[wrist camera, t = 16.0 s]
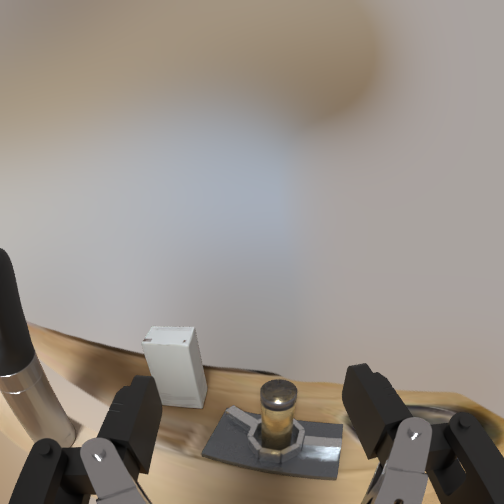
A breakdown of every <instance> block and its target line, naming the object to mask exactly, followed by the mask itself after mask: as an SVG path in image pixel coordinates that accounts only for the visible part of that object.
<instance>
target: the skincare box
mask: <svg viewBox="0 0 504 504" xmlns="http://www.w3.org/2000/svg"><path fill="white" fill-rule="evenodd" d="M142 347H143V351H144V354H145V357H146V360H147V363H148V366H149V370H150V373H151V376H153V377H154V379H155V382H156V385H157V389H158V392H159V395H160V399H161V402H162V405H168V406H177V407H189V408H201V409H202V408H203V405H204V401H205V397H206V393H207V384H206V379H205V374H204V370H203V365H202V361H201V355H200V351H199V345H198V341H197V335H196V330H195V327H159V326H153V327H152V328H151V329H150V331H149V332H148V334H147V336H146V337H145V339H144V340H143V342H142Z"/></svg>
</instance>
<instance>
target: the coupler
mask: <svg viewBox="0 0 504 504" xmlns="http://www.w3.org/2000/svg"><path fill="white" fill-rule="evenodd" d="M296 399H297V388H296V386H295V385H294V384H293V383H291V382H289V381H286V380H280V379H278V380H271V381H269V382H267V383H265V384H264V385H263V386H262V387H261V426H262V447H263V448H266V449H272V450H278V451H281V450H283V449H285V448H288V447H290V444H291V436H292V428H293V419H294V410H295V403H296Z"/></svg>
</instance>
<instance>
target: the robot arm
mask: <svg viewBox="0 0 504 504" xmlns="http://www.w3.org/2000/svg"><path fill="white" fill-rule="evenodd" d="M0 391H1V393H2V394H3V396H4V398H5V399H6V401H7V403H8V404H9V406H10V408H11V409H12V411H13V412H14V414H15V416H16V417H17V419H18V420H19V422H20V423H21V425H22V426H23V427H24V429H25V430H26V432H27V433H28V435H29V436H30V437H31V439H32V440H33V441H34V443H35V444H34V445H33V447H32V449H31V451H30V453H29V455H28V457H27V460H26V462H25V464H24V467H23V469H22V471H21V473H20V476H19V478H18V480H17V483H16V485H15V488H14V490H13V493H12V496H11V498H10V501H9V504H89V500H90V496H91V495H96V494H97V496H98V499H96V502H97V504H153V503H152V502H151V501H150V499H149V498H148V496H147V495H146V493H145V492H144V490H143V489H142V487H141V485H140V484H139V482H138V481H137V479H138V475H139V473H143V474H148V473H149V468H150V463H151V459H152V454H153V450H154V446H155V441H156V437H157V433H158V429H159V425H160V421H161V417H162V402H161V399H160V395H159V392H158V389H157V385H156V382H155V379H154V377H153V376H139V375H136V376H135V377H134V378H133V381H132V383H131V385H130V386H124V387H123V388H122V389H120V390H119V391H118V392H117V393H116V395H115V397H114V399H113V402H112V404H111V406H110V408H109V411H108V413H107V415H106V417H105V420H104V422H103V424H102V426H101V429H100V431H99V433H98V436H97V438H93V439H90V440H88V441H86V442H85V443H84V444H83V445H82V447H74V448H70V446H71V445H72V444H73V442H74V440H75V437H76V432H75V429H74V427H73V425H72V423H71V422H70V420H69V418H68V417H67V415H66V413H65V411H64V410H63V408H62V406H61V404H60V403H59V401H58V399H57V397H56V395H55V393H54V391H53V389H52V387H51V385H50V384H49V381H48V379H47V377H46V375H45V373H44V370H43V368H42V366H41V364H40V362H39V359H38V357H37V354H36V352H35V350H34V347H33V344H32V342H31V338H30V334H29V330H28V326H27V323H26V320H25V316H24V314H23V309H22V306H21V302H20V297H19V293H18V288H17V283H16V278H15V274H14V270H13V266H12V263H11V261H10V258H9V256H8V254H7V253H6V252H5V250H3V249H1V248H0ZM342 401H343V404H344V407H345V409H346V411H347V413H348V415H349V418H350V420H351V422H352V424H353V426H354V429H355V431H356V433H357V435H358V438H359V440H360V442H361V444H362V447H363V449H364V451H365V453H366V456H367V458H368V460H369V459H372V458H376V457H378V459H379V461H380V462H379V464H378V466H377V468H376V471H375V473H374V476H373V478H372V481H371V483H370V485H369V488H368V490H367V492H366V494H365V496H364V498H363V500H362V502H361V504H421V503H422V500H423V496H424V493H425V489H426V485H427V481H428V477H429V479H430V481H431V483H432V485H433V488H434V490H435V492H436V494H437V496H438V499H439V501H440V503H441V504H504V457H503V456H502V454H501V453H500V452H499V450H498V449H497V447H496V446H495V444H494V443H493V441H492V440H491V439H490V437H489V436H488V434H487V433H486V432H485V430H484V429H483V427H482V426H481V425H480V423H479V422H478V421H477V419H476V418H475V417H474V416H473V415H471V414H469V413H465V412H460V413H457V414H455V415H453V416H452V418H451V419H450V421H449V423H443V424H434V425H430V424H429V423H428V422H427V421H426V420H424V419H422V418H418V417H413V416H412V414H411V413H410V411H409V410H408V408H407V407H406V405H405V404H404V403H403V401H402V400H401V398H400V397H399V395H398V394H397V392H396V391H395V389H394V388H392V385H391V384H390V382H389V381H388V379H387V378H385V377H384V376H383V375H381V374H380V373H378V372H376V373H373V372H372V371H371V369H370V368H369V366H368V365H367V364H366V363H363V364H358V365H352V366H349V367H348V368H347V372H346V377H345V382H344V386H343V391H342ZM457 458H458V459H459V461H460V462H459V461H458V459H457ZM460 463H461V464H460ZM461 465H462V466H463V468H464V469H463V468H462V466H461ZM464 470H465V471H464ZM425 471H426V473H427V474H426V473H425ZM465 472H466V473H465Z"/></svg>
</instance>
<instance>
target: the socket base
mask: <svg viewBox="0 0 504 504" xmlns="http://www.w3.org/2000/svg"><path fill="white" fill-rule="evenodd" d="M342 430H343V424H330V423H318V422H308V421H299V420H295V419H293V428H292V436H291V444H290V447H288V448H285V449H283V450H281V451H278V450H272V449H266V448H263V447H262V426H261V415H259V414H253V413H248V412H244V411H242V410H240V409H239V408H237V407H236V406H234V405H233V406H231V407H230V408H227V409H226V411H225V412H224V414H223V416H222V418H221V420H220V421H219V423H218V425H217V427H216V429H215V430H214V432H213V434H212V436H211V437H210V439H209V441H208V442H207V444H206V446H205V448H204V449H203V451H202V453H201V454H202V457H206V458H209V459H212V460H216V461H219V462H223V463H227V464H231V465H235V466H239V467H243V468H248V469H252V470H257V471H262V472H267V473H273V474H279V475H286V476H293V477H301V478H310V479H321V480H336V479H337V475H338V467H339V459H340V450H341V444H342Z"/></svg>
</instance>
